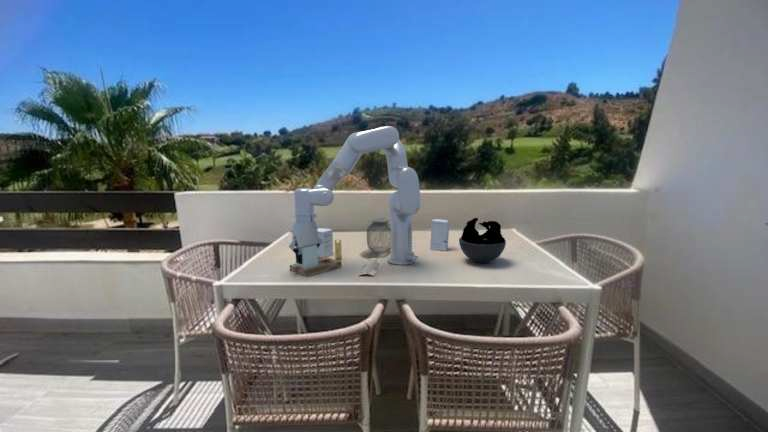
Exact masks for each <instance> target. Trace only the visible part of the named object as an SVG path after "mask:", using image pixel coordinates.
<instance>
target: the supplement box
mask: <svg viewBox="0 0 768 432" xmlns="http://www.w3.org/2000/svg"><path fill="white" fill-rule="evenodd" d="M317 230H318V237H320V238H321V239H322V242H321V244H320V246H319V247H318V250H317V253H318V258H321V257H327V258H330V256H333V255H334V251H333V250H334V240H333V239H334V238H333V237H334V236H333V232H334V231H333V229H332V228H324V227H323V228H322V227H319V228H318V227H317Z"/></svg>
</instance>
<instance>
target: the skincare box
mask: <svg viewBox="0 0 768 432" xmlns="http://www.w3.org/2000/svg"><path fill="white" fill-rule="evenodd" d="M449 233H450V219H449V220H447V219H440V218H439V219H437V218H434V219H432V220H431V225H430V243H429V244H430V246H429V247H430V248H429V250H430V251H431V250H432V251H442V250H443V252H446V251H447V250H448V249H449V238H450V237H449V235H450V234H449ZM447 248H448V249H447Z"/></svg>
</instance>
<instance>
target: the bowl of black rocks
mask: <svg viewBox="0 0 768 432" xmlns="http://www.w3.org/2000/svg"><path fill="white" fill-rule="evenodd" d="M478 221H479V218H478V217H474V218H472V219H470V220H468V221H467V222H466V225H465V226H464V228H463V229H462V230H463V231H462V235H461V237H460V238H459V239H458V244H459V247H460V249H461V251H462V253H463V254H464V255H465V256H466V257H467V258H468V259H469V260H471V261H474V262H476V263H481V264H483V263H490V262H493V261H494V260H497V258H499V257H500V256H501V255H502V253H503V251H505V250H504V249H505V248H506V245H507V241H506V238H505V237H504V236H503V235H502V230H501V229H502V225H501V224H500V223H499V222H498V221H495V220H488V221H483V222H479V223H478V224H479V225H480V226H482V227H484V228H485V229H486V230H485V232H484V233H482V234H480V233H479V231H478V230H477V229H476V223H477V222H478Z"/></svg>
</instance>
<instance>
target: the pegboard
mask: <svg viewBox="0 0 768 432" xmlns="http://www.w3.org/2000/svg"><path fill="white" fill-rule="evenodd" d="M342 263H343V262H342V260H339V261H338V260H335V258H330V257H318V266H315V267H311V268H307V269H303V268H301V267H298V266H296V263H294V264H289V272H292V273H294V274H297V275H300V276H303V277H306V278H309V277H311V276H315V275H318V274H322V273H326V272H328V271H329V272H330V271H332V270H336V269H340V268H342V267H343V266H342Z"/></svg>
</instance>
